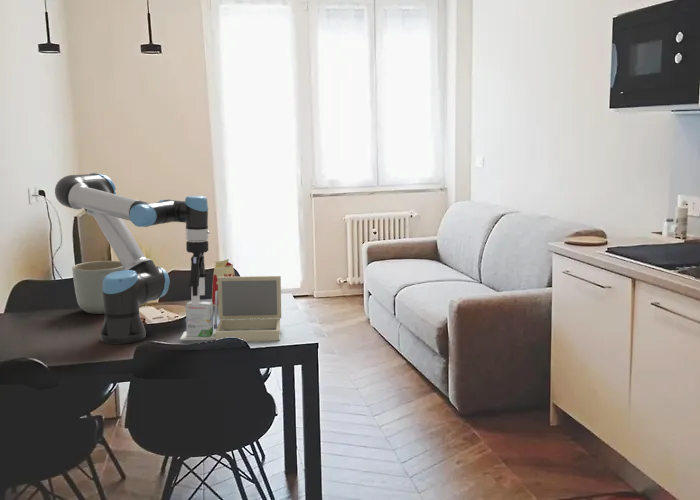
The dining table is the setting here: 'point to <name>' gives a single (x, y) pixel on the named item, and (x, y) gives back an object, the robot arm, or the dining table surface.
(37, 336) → the dining table surface
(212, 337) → the pad
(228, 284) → the case
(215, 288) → the milk carton
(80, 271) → the planter
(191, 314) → the ink box
